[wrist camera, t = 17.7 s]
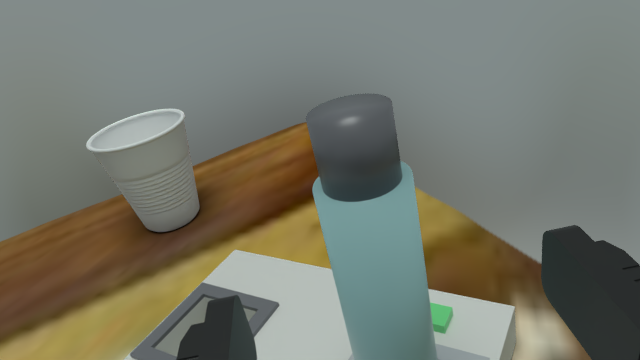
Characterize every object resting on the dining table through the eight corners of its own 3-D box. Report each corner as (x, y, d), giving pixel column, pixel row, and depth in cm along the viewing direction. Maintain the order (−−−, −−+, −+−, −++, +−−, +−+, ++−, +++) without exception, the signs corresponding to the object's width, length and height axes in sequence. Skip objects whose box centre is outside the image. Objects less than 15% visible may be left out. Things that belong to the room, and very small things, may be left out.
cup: (206, 236, 49) (168, 138, 44) (115, 252, 50) (67, 158, 45) (224, 188, 58) (194, 101, 53) (146, 202, 59) (109, 118, 54)
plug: (433, 481, 24) (375, 134, 15) (361, 451, 26) (274, 131, 17) (456, 414, 27) (419, 88, 18) (390, 392, 29) (327, 90, 20)
